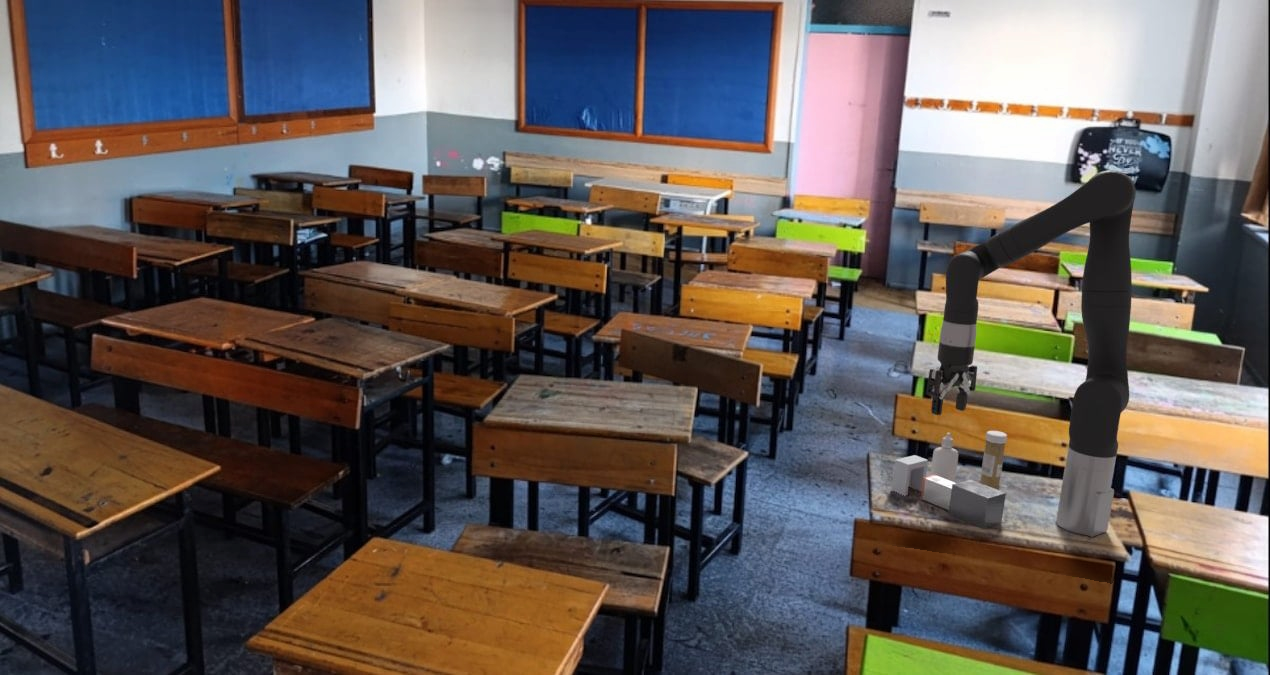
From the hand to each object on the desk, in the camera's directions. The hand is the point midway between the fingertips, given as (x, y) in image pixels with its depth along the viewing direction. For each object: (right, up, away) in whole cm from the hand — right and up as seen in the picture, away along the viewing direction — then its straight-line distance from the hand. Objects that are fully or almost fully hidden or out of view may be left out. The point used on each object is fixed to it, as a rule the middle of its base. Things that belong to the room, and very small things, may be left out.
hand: (948, 412), depth 215 cm
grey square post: (0, -21, -6) cm, 22 cm away
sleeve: (+2, -22, -9) cm, 24 cm away
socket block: (-8, -18, +4) cm, 21 cm away
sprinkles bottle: (+13, -19, +10) cm, 25 cm away
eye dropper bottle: (+2, -18, +12) cm, 22 cm away
